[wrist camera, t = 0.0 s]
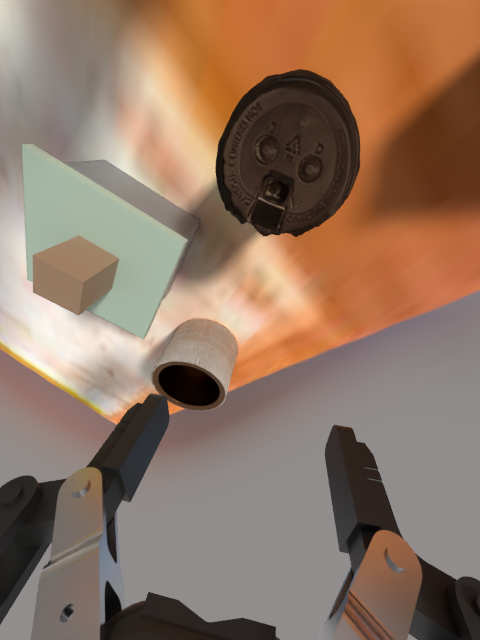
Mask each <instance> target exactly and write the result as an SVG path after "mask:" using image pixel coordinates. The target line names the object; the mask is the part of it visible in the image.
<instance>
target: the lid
mask: <svg viewBox="0 0 480 640" xmlns="http://www.w3.org/2000/svg"><path fill="white" fill-rule="evenodd" d="M22 160H23V185H24V210H25V235H26V260H27V280H29V281H31V282H33V293H35V294H37V295H39V296H41V297H43V298H45V299H47V300H49V301H51V302H53V303H55V304H57V305H59V306H61V307H63V308H65V309H67V310H69V311H71V312H73V313H75V314H77V315H80V314H81V313H82V312H83V311H85V310H88V311H90V312H92V313H94V314H96V315H98V316H100V317H102V318H104V319H106V320H107V321H109V322H111V323H113V324H115V325H117V326H119V327H121V328H123V329H125V330H127V331H129V332H131V333H133V334H135V335H137V336H139V337H141V338H143V339H144V338H145V336H146V335H147V334H148V331H149V329H150V327H151V324H152V322H153V320H154V318H155V315H156V313H157V311H158V308H159V306H160V304H161V302H162V299H163V297H164V295H165V292H166V290H167V288H168V285H169V283H170V281H171V279H172V276H173V274H174V272H175V269H176V267H177V265H178V263H179V260H180V258H181V256H182V253H183V251H184V249H185V246H186V244H187V242H188V239H186V238H184V237H183V236H181V235H179V234H178V233H176V232H175V231H173V230H171V229H170V228H168V227H166V226H165V225H163V224H162V223H160V222H158V221H157V220H155V219H154V218H152V217H150V216H149V215H147V214H145V213H144V212H142V211H141V210H139V209H137V208H136V207H134V206H132V205H131V204H129V203H128V202H126V201H124V200H123V199H121V198H120V197H118V196H116V195H115V194H113V193H111V192H110V191H108V190H107V189H105V188H103V187H102V186H100V185H98V184H97V183H95V182H94V181H92V180H90V179H89V178H87V177H85V176H84V175H82V174H81V173H79V172H77V171H76V170H74V169H73V168H71V167H69V166H68V165H66V164H64V163H63V162H61V161H60V160H58V159H56V158H55V157H53V156H51V155H50V154H48V153H47V152H45V151H43V150H42V149H40V148H39V147H37V146H35V145H34V144H22Z"/></svg>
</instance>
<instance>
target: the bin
mask: <svg viewBox="0 0 480 640" xmlns="http://www.w3.org/2000/svg"><path fill="white" fill-rule="evenodd" d="M64 164H66V165H68V166H69V167H71V168H73V169H74V170H76V171H77V172H79V173H81V174H82V175H84V176H85V177H87V178H89V179H90V180H92V181H94V182H95V183H97V184H98V185H100V186H102V187H103V188H105V189H107V190H108V191H110V192H111V193H113V194H115V195H116V196H118V197H120V198H121V199H123V200H124V201H126V202H128V203H129V204H131V205H132V206H134V207H136V208H137V209H139V210H141V211H142V212H144V213H145V214H147V215H149V216H150V217H152V218H154V219H155V220H157V221H158V222H160V223H162V224H163V225H165V226H166V227H168V228H170V229H171V230H173V231H175V232H176V233H178V234H179V235H181V236H183V237H184V238H186V239H188V242H187V244H186V246H185V249H184V251H183V253H182V256H181V258H180V260H179V263H178V265H177V267H176V269H175V272H174V274H173V276H172V279H171V281H170V283H169V285H168V288H167V290H166V292H165V295H164V297H163V299H164V298H165V296H166V295H167V294H168V293H169V291H170V289H171V286H172V284H173V282H174V280H175V277H176V275H177V273H178V271H179V268H180V266H181V264H182V262H183V259H184V257H185V255H186V253H187V250H188V248H189V246H190V244H191V242H192V239H193V237H194V235H195V233H196V230H197V228H198V226H199V224H200V221H199V220H198V219H196V218H195V217H193V216H192V215H190V214H189V213H187V212H185V211H184V210H182V209H181V208H179V207H178V206H176V205H174V204H173V203H171V202H170V201H168V200H167V199H165V198H164V197H162V196H160V195H159V194H157V193H156V192H154V191H153V190H151V189H149V188H148V187H146V186H145V185H143V184H142V183H140V182H139V181H137V180H135V179H134V178H132V177H131V176H129V175H128V174H126V173H125V172H123V171H121V170H120V169H118V168H117V167H115V166H114V165H112V164H110V163H109V162H107V161H106V160H96V161H83V162H71V163H64ZM163 299H162V300H163Z"/></svg>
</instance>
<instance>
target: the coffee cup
mask: <svg viewBox="0 0 480 640" xmlns="http://www.w3.org/2000/svg"><path fill="white" fill-rule="evenodd" d="M359 168H360V136H359V130H358V126H357V123H356V119H355V117H354V115H353V113H352V112H351V109H350V106H349V103H348V101H347V100H346V99H345V97H344V96H343V94H342V93H341V92H340V91H339V90H338V89H337V88H336V87H335V86H334V84H333V83H332V82H331V81H330V80H328V79H326V78H324V77H322V76H320V75H318V74H316V73H313V72H311V71H308V70H302V69H299V70H295V71H290V72H287V73H283V74H280V75H278V74H277V75H271V76H267V77H265V78H264V79H263V80H262V81H261V82H260V83H258V84H257V85H256V86H254V87H253V88H252V89H251V90H249V91H248V92H247V93H246V94H245V95H244V96H243V97H242V99H241V100H240V101H239V103H238V104H237V106H236V108H235V109H234V111H233V113H232V115H231V117H230V120H229V121H228V123H227V125H226V128H225V130H224V132H223V135H222V137H221V138H220V141H219V144H218V152H217V158H216V177H217V184H218V189H219V192H220V195H221V199H222V201H223V202H224V204H225V208H226V210H227V211H229V212H231V214H232V215H233V216H234V217H236V218H237V219H238V220H239V221H240V223H241V224H244V223H246V222H248V223H251V224H252V225H253V226H254V227H255V229H257V231H258V232H259V233H260V234H262V235H263V236H268V235H270V234H274V235H280V234H281V233H290V234H292V235H293V236H295V237H297V236H299V235H302V234H303V233H305V232H306V231H309V230H311V229H313V228H314V227H318V226H320V225H321V224H322V223H323V222H324V221H326V220H327V219H329V218H330V217H332V216H333V215H334V214H335V213H336V211H337V210H338V209H339V208H340V207H341V206H342V205H343V203H344V201H345V200H346V199H347V198H348V196H349V194H350V192H351V190H352V188H353V185H354V183H355V180H356V177H357V175H358V172H359Z"/></svg>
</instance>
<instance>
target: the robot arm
mask: <svg viewBox="0 0 480 640" xmlns="http://www.w3.org/2000/svg"><path fill="white" fill-rule="evenodd" d="M168 423H169V410H168V403H167V397H166V396H163V395H157V394H150V395H148V397H147V398H146V400H145V401H144V403H143V404H141V403H137V404H136V405H134V406H133V407H132V408H130V409H129V410H128V411H127V412H126V414H125V415H124V416H123V418H122V419H121V421H120V422H119V423H118V425H117V426H116V427H115V430H114V431H113V432H112V433H111V434H110V436H109V437H108V439H107V440H106V441H105V443H104V444H103V446H102V447H101V448H100V450H99V451H98V453H97V454H96V455H95V457H94V458H93V459H92V461H91V462H90V463H89V465H88V466H87V467H86V468H83V469H80V470H78V471H76V472H75V473H73V474H72V475H71V476H70V477H68V478H67V479H62V480H56V481H49V482H44V483H38V482H37V480H36V479H35V478H34V477H32V476H21V477H18V478H15V479H13V480H11V481H9V482H7V483H6V484H5V485H3V486H2V487H1V488H0V624H1V623H2V621H3V619H4V618H5V616H6V615H7V613H8V611H9V609H10V608H11V606H12V605H13V603H14V602H15V600H16V598H17V597H18V595H19V594H20V592H21V590H22V589H23V587H24V585H25V584H26V582H27V580H28V579H29V577H30V576H31V574H32V572H33V571H34V569H35V567H36V566H37V564H38V563H39V561H40V559H41V558H42V556H43V555H44V553H45V551H46V550H47V548H48V547H49V545H50V543H52V548H51V556H50V560H49V562H48V564H47V565H46V566H44V568H43V570H42V572H41V576H40V579H39V585H38V592H37V599H36V606H35V613H34V620H33V627H32V634H31V640H280V639H279V638H277V637H276V636H275V634H276V627H274V626H270V625H267V624H263V623H260V622H256V621H252V620H249V619H245V618H239V619H232V620H225V621H218V622H211V623H210V622H206V621H204V620H203V619H202V618H200V617H199V616H198V615H197V614H195V613H194V612H193V611H191V610H190V609H189V608H188V607H186V606H185V605H184V604H182V603H181V602H180V601H179V600H176V599H172V598H168V597H165V596H161V595H157V594H154V593H150V592H149V593H148V595H147V598H146V601H141V602H138V603H135V604H133V605H131V606H129V607H127V608H125V596H124V585H123V579H122V574H121V569H120V559H119V544H118V529H117V528H118V527H117V513H116V510H117V508H118V506H119V504H120V503H121V501H122V500H123V501H128V502H131V500H132V498H133V496H134V494H135V492H136V490H137V488H138V486H139V484H140V482H141V480H142V478H143V476H144V474H145V472H146V470H147V467H148V466H149V464H150V461H151V459H152V458H153V455H154V453H155V451H156V449H157V447H158V445H159V443H160V441H161V439H162V437H163V435H164V433H165V431H166V429H167V427H168ZM325 460H326V467H327V473H328V479H329V486H330V492H331V499H332V505H333V512H334V518H335V525H336V531H337V537H338V543H339V550H340V552H345V553H349V555H350V560H351V568H350V570H349V572H348V574H347V576H346V578H345V580H344V583H343V585H342V587H341V589H340V591H339V593H338V596H337V598H336V600H335V602H334V604H333V607H332V609H331V611H330V613H329V615H328V617H327V619H326V622H325V623H324V625H323V627H322V629H321V630H320V632H319V634H318V636H317V638H316V640H407V638H408V634H411V635H412V636H413V637H415V638H416V639H418V640H480V581H479V580H477V579H474V578H472V577H461V578H459V579H458V580H456V579H454V578H453V577H451V576H449V575H447V574H446V573H444V572H442V571H441V570H439V569H437V568H435V567H434V566H432V565H430V564H428V563H427V562H425V561H424V560H423V559H421V558H420V557H419V556H418V555H417V554H416V553H414V551H413V550H412V548H411V547H410V546H409V545H408V543H407V542H406V541H405V540H404V539H403V537H402V535H401V533H400V531H399V529H398V526H397V523H396V521H395V518H394V515H393V512H392V509H391V506H390V503H389V500H388V497H387V494H386V491H385V488H384V485H383V483H382V479H381V477H380V474H379V472H378V468H377V465H376V462H375V459H374V456H373V454H372V453H371V452H370V450H369V449H368V447H367V446H366V445H365V443H361V442H357V441H356V438H355V434H354V431H353V429H352V428H350V427H344V426H338V425H334V426H333V427H332V430H331V433H330V435H329V438H328V441H327V444H326V448H325Z"/></svg>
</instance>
